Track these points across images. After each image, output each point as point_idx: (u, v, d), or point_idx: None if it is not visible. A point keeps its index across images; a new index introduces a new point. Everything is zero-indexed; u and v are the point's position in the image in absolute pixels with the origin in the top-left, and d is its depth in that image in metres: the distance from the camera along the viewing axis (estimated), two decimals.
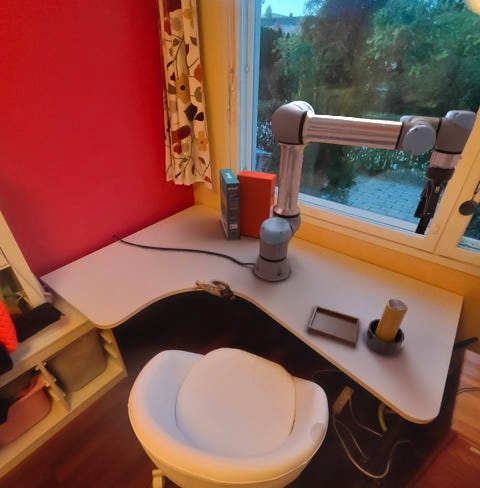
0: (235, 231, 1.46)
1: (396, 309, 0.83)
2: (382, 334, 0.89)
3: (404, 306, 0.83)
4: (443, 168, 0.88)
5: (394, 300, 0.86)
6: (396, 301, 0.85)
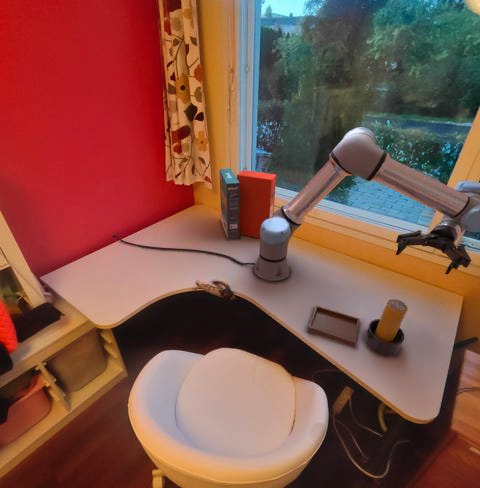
0: (235, 231, 1.46)
1: (396, 309, 0.83)
2: (382, 334, 0.89)
3: (404, 306, 0.83)
4: None
5: (394, 300, 0.86)
6: (396, 301, 0.85)
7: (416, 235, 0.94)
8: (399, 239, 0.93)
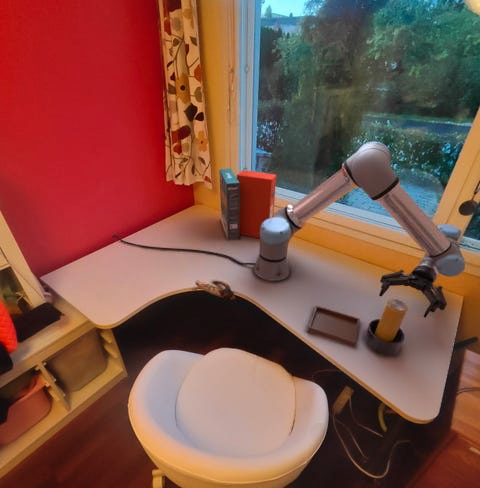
0: (235, 231, 1.46)
1: (396, 309, 0.83)
2: (382, 334, 0.89)
3: (404, 306, 0.83)
4: None
5: (394, 300, 0.86)
6: (396, 301, 0.85)
7: (399, 275, 1.02)
8: (383, 279, 1.00)
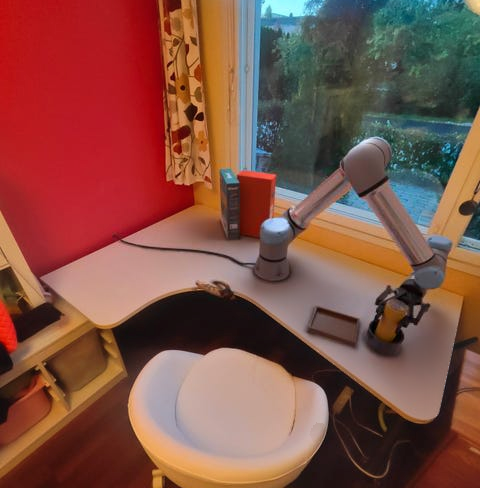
0: (235, 231, 1.46)
1: (396, 309, 0.83)
2: (382, 334, 0.89)
3: (404, 306, 0.83)
4: None
5: (394, 300, 0.86)
6: (396, 301, 0.85)
7: (388, 292, 0.94)
8: (377, 302, 0.91)
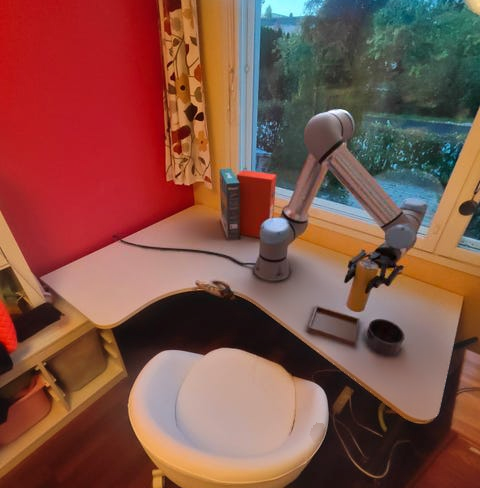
0: (235, 231, 1.46)
1: (366, 268, 0.80)
2: (354, 297, 0.86)
3: (375, 265, 0.81)
4: None
5: (365, 260, 0.83)
6: (367, 261, 0.83)
7: (362, 256, 0.92)
8: (350, 265, 0.88)
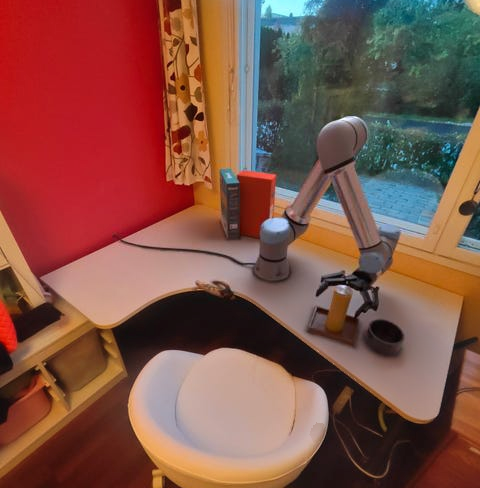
0: (235, 231, 1.46)
1: (341, 294, 0.88)
2: (332, 318, 0.94)
3: (349, 291, 0.89)
4: None
5: (341, 286, 0.91)
6: (343, 287, 0.91)
7: (339, 275, 1.01)
8: (322, 280, 0.99)
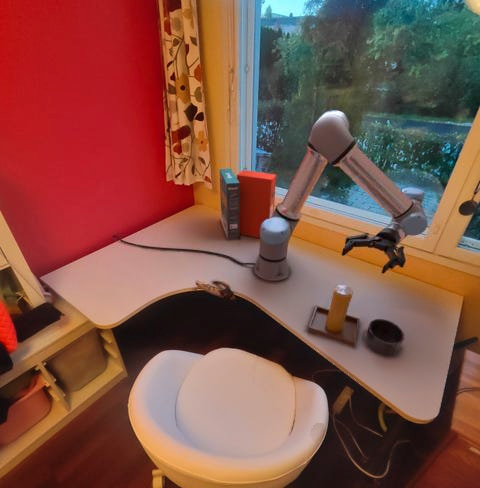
0: (235, 231, 1.46)
1: (341, 294, 0.88)
2: (332, 318, 0.94)
3: (349, 291, 0.89)
4: None
5: (341, 286, 0.91)
6: (343, 287, 0.91)
7: (363, 237, 1.03)
8: (347, 241, 1.01)
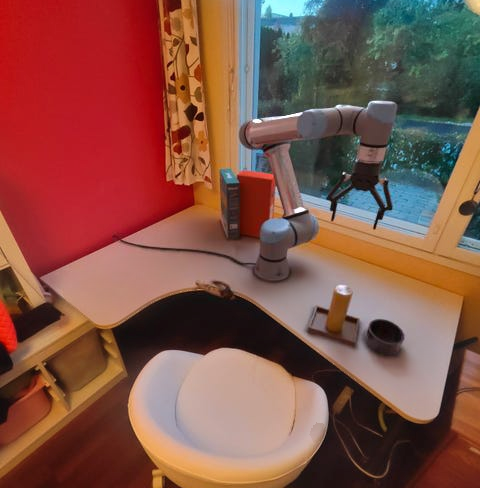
0: (235, 231, 1.46)
1: (341, 294, 0.88)
2: (332, 318, 0.94)
3: (349, 291, 0.89)
4: (357, 158, 0.86)
5: (341, 286, 0.91)
6: (343, 287, 0.91)
7: None
8: None
